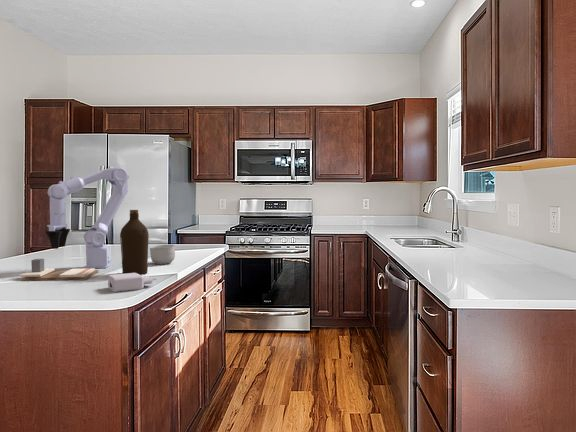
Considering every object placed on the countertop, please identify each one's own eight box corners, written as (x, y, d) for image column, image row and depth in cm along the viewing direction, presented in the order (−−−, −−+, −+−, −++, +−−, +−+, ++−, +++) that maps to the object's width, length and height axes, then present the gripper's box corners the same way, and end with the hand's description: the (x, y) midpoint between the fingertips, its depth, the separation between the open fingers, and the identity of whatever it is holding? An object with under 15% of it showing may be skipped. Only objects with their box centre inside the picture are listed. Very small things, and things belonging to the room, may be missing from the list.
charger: (160, 288, 166) (114, 293, 158) (152, 283, 174) (107, 288, 166) (160, 274, 166) (114, 278, 158) (151, 270, 174) (107, 274, 166)
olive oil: (151, 271, 199) (151, 209, 197) (145, 275, 188) (144, 210, 187) (125, 271, 198) (124, 209, 197) (117, 276, 188) (115, 210, 186)
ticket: (94, 270, 195) (94, 268, 195) (83, 276, 181) (83, 274, 181) (71, 270, 194) (71, 268, 194) (58, 277, 180) (58, 274, 180)
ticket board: (98, 272, 196) (98, 269, 196) (85, 279, 180) (85, 277, 180) (40, 273, 194) (40, 270, 194) (22, 280, 178) (22, 278, 178)
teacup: (171, 265, 214) (171, 247, 213) (146, 265, 214) (146, 247, 214) (179, 260, 228) (179, 243, 227) (155, 260, 228) (155, 243, 227)
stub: (54, 270, 193) (54, 256, 193) (40, 276, 179) (40, 262, 179) (36, 270, 192) (35, 257, 192) (20, 276, 178) (19, 262, 178)
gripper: (54, 213, 206) (55, 245, 206) (40, 215, 191) (41, 249, 192) (71, 213, 206) (72, 245, 207) (59, 214, 192) (60, 249, 193)
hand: (58, 247), depth 200 cm, fingers open, 7 cm apart
